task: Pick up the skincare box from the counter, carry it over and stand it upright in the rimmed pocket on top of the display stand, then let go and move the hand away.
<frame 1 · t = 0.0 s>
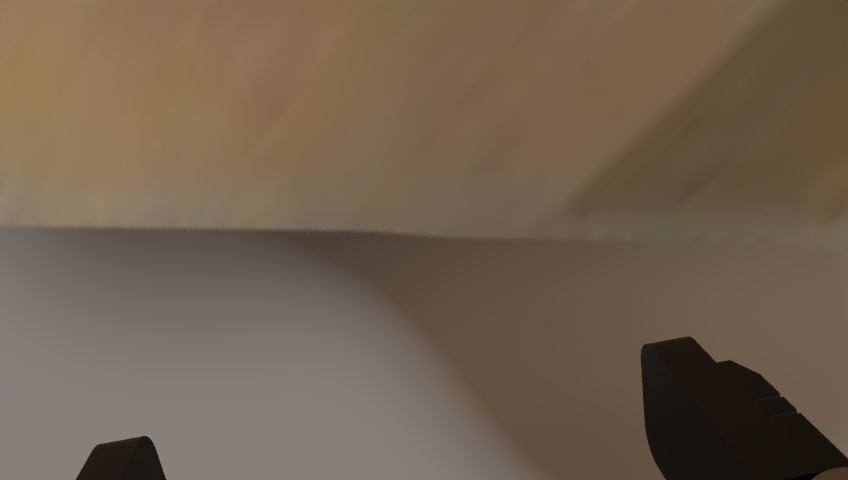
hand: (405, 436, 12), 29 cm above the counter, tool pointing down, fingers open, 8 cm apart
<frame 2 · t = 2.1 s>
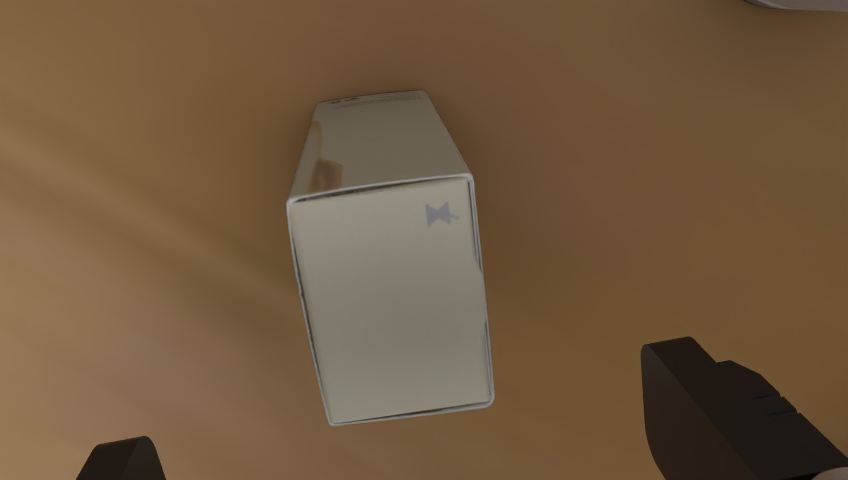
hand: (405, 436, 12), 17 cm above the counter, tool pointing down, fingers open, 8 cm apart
skincare box: (381, 175, 28), on the counter
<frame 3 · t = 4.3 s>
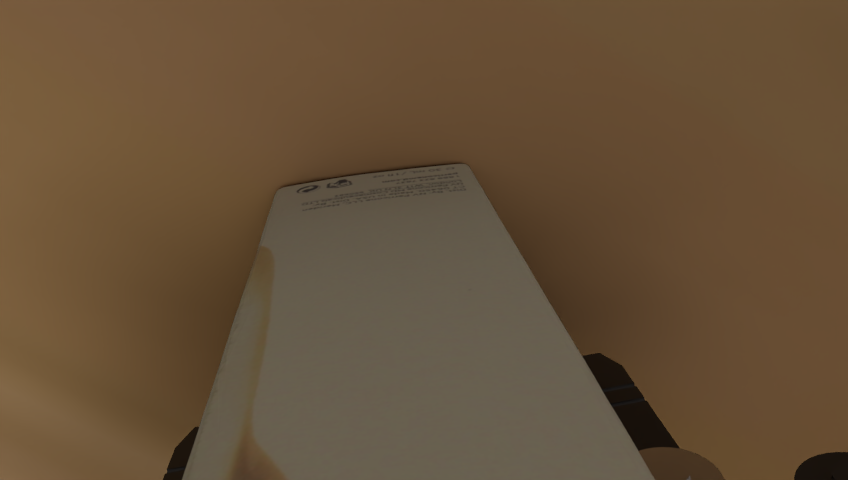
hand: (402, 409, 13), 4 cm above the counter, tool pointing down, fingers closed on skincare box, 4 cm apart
skincare box: (391, 302, 17), on the counter, touching gripper
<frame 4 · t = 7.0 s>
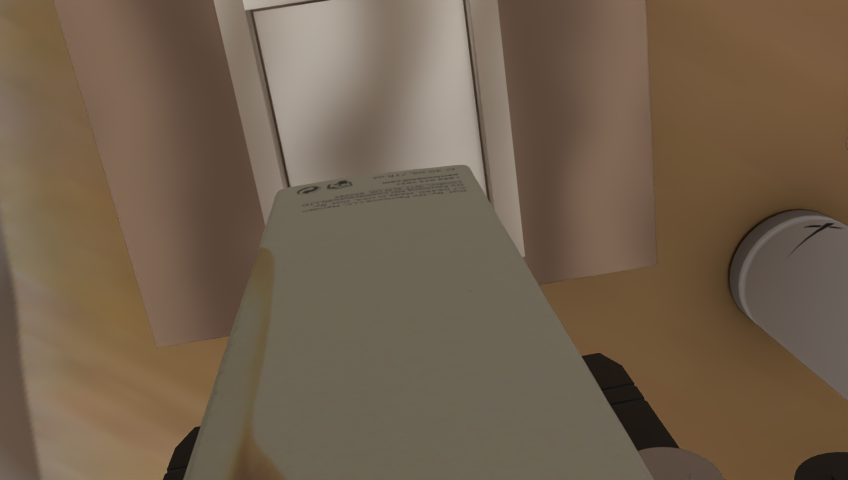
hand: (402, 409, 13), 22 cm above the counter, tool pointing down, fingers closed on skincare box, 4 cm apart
travel mug: (782, 265, 37), on the counter
skincare box: (391, 303, 17), point 17 cm above the counter, touching gripper
display stand: (377, 109, 33), on the counter
when the fingers open (10 cm above the counter, at t = 10.1 s): skincare box drops 1 cm, resting on display stand.
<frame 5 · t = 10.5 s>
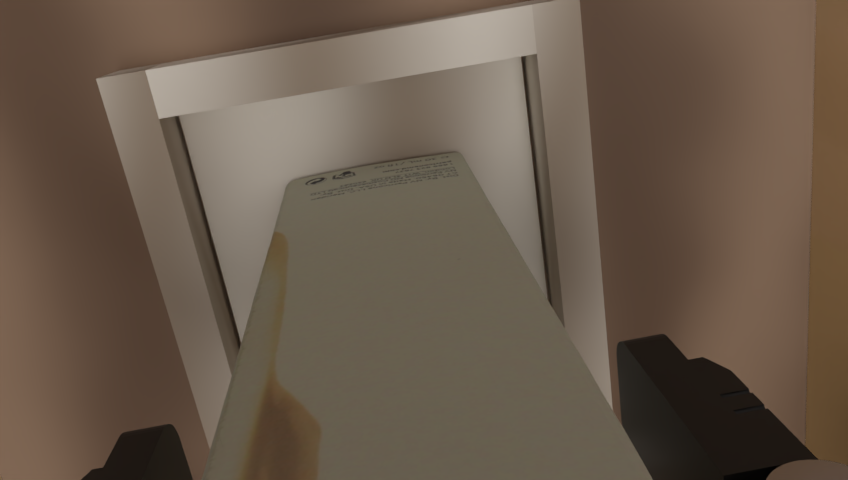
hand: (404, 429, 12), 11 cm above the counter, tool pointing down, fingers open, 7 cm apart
skincare box: (396, 283, 18), point 4 cm above the counter, touching display stand
display stand: (382, 227, 22), on the counter
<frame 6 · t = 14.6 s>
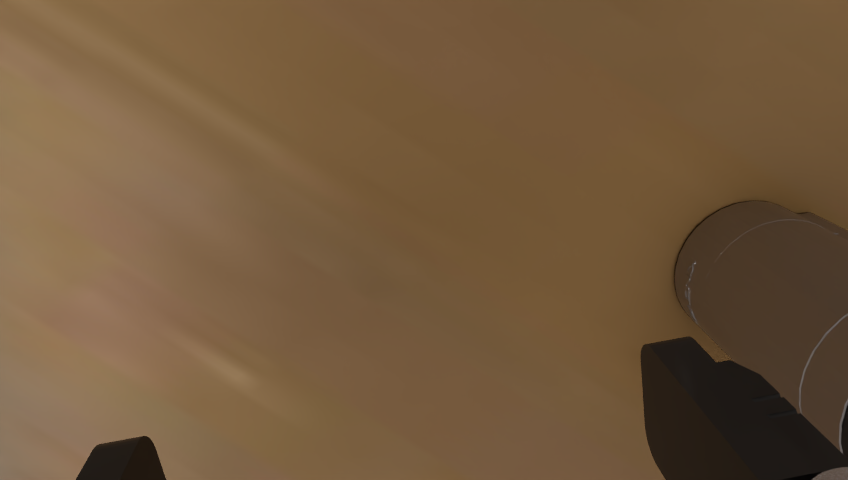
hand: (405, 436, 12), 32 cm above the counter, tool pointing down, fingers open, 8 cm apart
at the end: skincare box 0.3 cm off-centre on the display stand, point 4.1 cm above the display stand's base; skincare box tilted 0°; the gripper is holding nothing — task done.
